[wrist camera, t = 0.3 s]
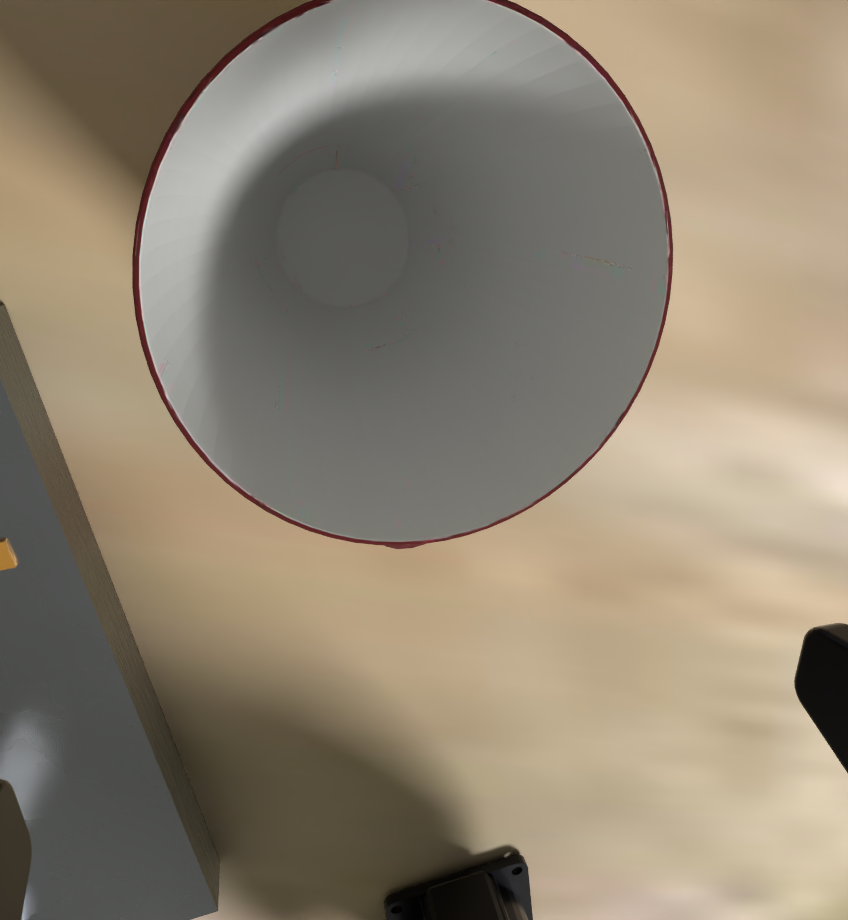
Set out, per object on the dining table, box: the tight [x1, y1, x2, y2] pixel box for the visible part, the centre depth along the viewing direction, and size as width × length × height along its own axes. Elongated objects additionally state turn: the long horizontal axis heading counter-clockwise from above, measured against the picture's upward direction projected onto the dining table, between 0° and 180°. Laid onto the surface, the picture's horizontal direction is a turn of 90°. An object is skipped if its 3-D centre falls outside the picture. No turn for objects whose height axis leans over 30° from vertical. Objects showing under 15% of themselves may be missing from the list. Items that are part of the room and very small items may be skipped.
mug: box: [133, 0, 673, 549], centre depth 15 cm, size 11×8×10 cm
